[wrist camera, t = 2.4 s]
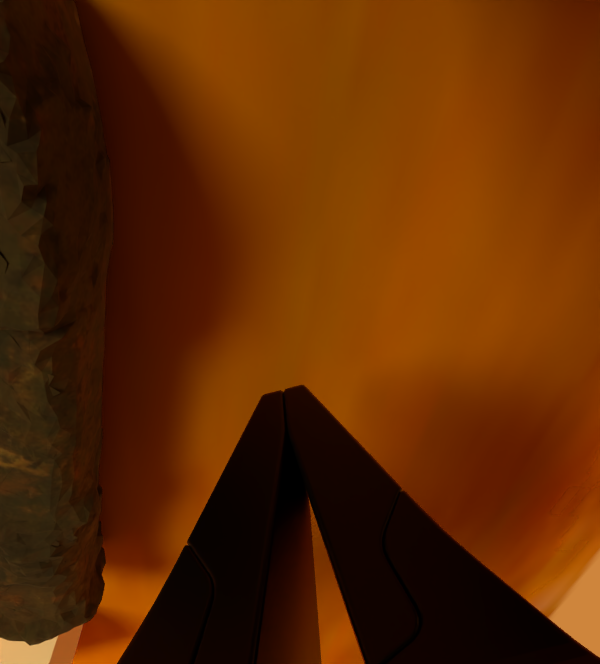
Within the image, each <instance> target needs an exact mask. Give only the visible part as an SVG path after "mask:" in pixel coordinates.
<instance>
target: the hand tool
mask: <svg viewBox="0 0 600 664" xmlns="http://www.w3.org/2000/svg"><path fill="white" fill-rule="evenodd" d="M112 245H113V200H112V188H111V174H110V161H109V158H108V156H107V153H106V147H105V141H104V134H103V127H102V121H101V116H100V111H99V106H98V100H97V95H96V90H95V85H94V79H93V74H92V69H91V65H90V62H89V58H88V54H87V51H86V47H85V43H84V40H83V35H82V30H81V26H80V21H79V16H78V11H77V7H76V4H75V2H74V0H0V638H3V639H5V640H8V641H24V642H26V643H27V644H28V645H30V646H31V645H36V644H40V643H42V642H44V641H47V640H50V639H53V638H55V637H57V636H58V635H60V634H63V633H66V632H68V631H70V630H71V629H73V628H74V627H77V626H80V625H82V624H84V623H86V622H88V621H90V620H91V619H92V618H93V617H94V615H95V614H96V612H97V609H98V606H99V604H100V602H101V600H102V596H103V591H104V585H105V583H104V580H103V577H102V571H103V568H104V565H105V563H106V560H105V552H104V549H103V548H102V544H103V535H102V534H101V522H100V521H99V516H100V513H101V506H102V500H101V498H102V488H101V486H100V485H99V464H100V457H101V450H102V439H103V429H102V386H103V361H104V322H105V312H106V280H107V270H108V264H109V259H110V253H111V248H112Z"/></svg>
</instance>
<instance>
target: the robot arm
mask: <svg viewBox="0 0 600 664" xmlns="http://www.w3.org/2000/svg"><path fill="white" fill-rule="evenodd" d="M308 497H309V498H308ZM309 500H310V503H311V506H312V509H313V512H314V515H315V518H316V521H317V524H318V527H319V530H320V533H321V536H322V539H323V542H324V545H325V548H326V551H327V554H328V557H329V560H330V563H331V566H332V569H333V572H334V575H335V578H336V581H337V584H338V587H339V590H340V593H341V595H342V598H343V601H344V604H345V607H346V610H347V613H348V616H349V619H350V622H351V625H352V628H353V631H354V634H355V637H356V640H357V643H358V646H359V649H360V652H361V655H362V658H363V661H364V664H600V658H599V657H598V656H596V655H595V654H593V653H592V652H591V651H589V650H588V649H587V648H585V647H584V646H582V645H581V644H580V643H578V642H577V641H576V640H574V639H573V638H572V637H571V636H569V635H568V634H567V633H565V632H564V631H563V630H562V629H561V628H559V627H558V626H557V625H556V624H555V623H553V622H552V621H551V620H550V619H549V618H547V617H546V616H545V615H544V614H542V613H541V612H540V611H539V610H538V609H536V608H535V607H534V606H533V605H532V604H530V603H529V602H528V601H527V600H526V599H524V598H523V597H522V596H521V595H520V594H518V593H517V592H516V591H515V590H514V589H512V588H511V587H510V586H509V585H507V584H506V583H505V582H504V581H503V580H501V579H500V578H499V577H498V576H497V575H495V574H494V573H493V572H492V571H491V570H489V569H488V568H487V567H486V566H485V565H483V564H482V563H481V562H480V561H478V560H477V559H476V558H475V557H474V556H473V555H471V554H470V553H469V552H468V551H467V550H466V549H465V548H463V547H462V546H461V545H460V544H459V543H458V542H457V541H455V540H454V539H453V538H452V537H451V536H450V535H449V534H447V533H446V532H445V531H444V530H443V529H442V528H441V527H440V526H439V525H438V524H437V523H436V522H435V521H434V520H433V519H432V518H431V517H430V516H429V515H428V514H427V513H426V512H425V511H424V510H423V509H422V508H421V507H420V506H419V505H418V504H417V503H416V502H415V501H414V500H413V499H412V498H411V497H410V496H409V495H408V494H407V493H406V492H405V491H402V488H401V487H400V486H399V485H398V483H397V482H396V481H395V480H394V479H393V478H392V477H391V476H390V475H389V474H388V473H387V472H386V471H385V470H384V469H383V468H382V467H381V466H380V464H379V463H378V462H377V461H376V460H375V459H374V458H373V457H372V456H371V455H370V454H369V453H368V452H367V451H366V450H365V449H364V448H363V447H362V445H361V444H360V443H359V442H358V441H357V440H356V439H355V438H354V437H353V436H352V435H351V434H350V433H349V432H348V431H347V430H346V429H345V428H344V427H343V425H342V424H341V423H340V422H339V421H338V420H337V419H336V418H335V417H334V416H333V415H332V414H331V413H330V412H329V411H328V410H327V409H326V408H325V406H324V405H323V404H322V403H321V402H320V401H319V400H318V399H317V398H316V397H315V396H314V395H313V394H312V393H311V392H310V391H309V390H308V389H307V387H305V386H304V385H299V386H295V387H291V388H287V389H285V391H284V392H283V391H281V390H280V391H275V392H271V393H267V394H264V395H263V396H262V397H261V399H260V401H259V403H258V405H257V407H256V409H255V410H254V412H253V414H252V416H251V418H250V420H249V422H248V424H247V426H246V428H245V430H244V432H243V434H242V436H241V438H240V440H239V442H238V444H237V445H236V447H235V449H234V451H233V453H232V455H231V457H230V459H229V461H228V463H227V465H226V467H225V469H224V471H223V473H222V475H221V477H220V479H219V481H218V482H217V484H216V486H215V488H214V490H213V492H212V494H211V496H210V498H209V500H208V502H207V504H206V506H205V508H204V510H203V512H202V514H201V516H200V517H199V519H198V521H197V523H196V525H195V527H194V529H193V531H192V533H191V535H190V537H189V539H188V541H187V544H188V545H189V546H188V545H186V546H185V547H184V548H183V550H182V552H181V554H180V556H179V558H178V560H177V562H176V564H175V566H174V568H173V569H172V571H171V573H170V575H169V577H168V579H167V580H166V582H165V584H164V586H163V588H162V590H161V591H160V593H159V595H158V597H157V599H156V601H155V602H154V604H153V606H152V607H151V609H150V611H149V612H148V614H147V616H146V617H145V619H144V621H143V622H142V624H141V626H140V627H139V629H138V631H137V632H136V634H135V636H134V637H133V639H132V641H131V642H130V644H129V645H128V647H127V649H126V650H125V652H124V653H123V655H122V656H121V658H120V660H119V661H118V663H117V664H321V652H320V639H319V625H318V612H317V598H316V585H315V571H314V558H313V544H312V531H311V517H310V506H309Z"/></svg>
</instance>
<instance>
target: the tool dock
mask: <svg viewBox="0 0 600 664" xmlns="http://www.w3.org/2000/svg"><path fill="white" fill-rule="evenodd" d="M82 627H83V624H82V625H80V626H77V627H74V628H73V629H71V630H70V631H68V632H66V633H63V634H60V635H58V636H57V637H55V638H53V639H50V640H47V641H44V642H42V643H40V644H36V645H31V646H30V645H28V644H27V643H26V642H24V641H8V640H5V639H3V638H0V664H72V662H73V658H74V655H75V651H76V648H77V645H78V641H79V638H80V634H81V631H82Z"/></svg>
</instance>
